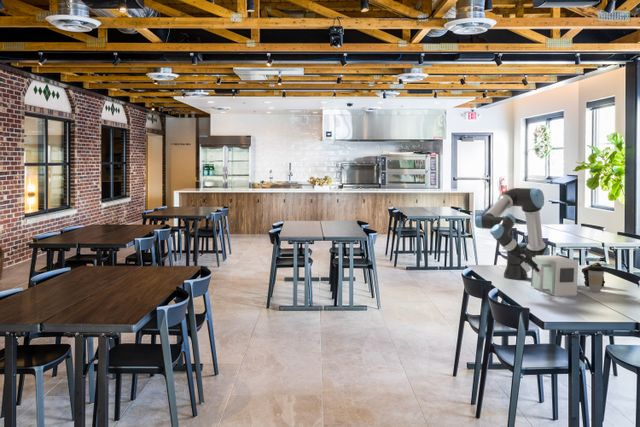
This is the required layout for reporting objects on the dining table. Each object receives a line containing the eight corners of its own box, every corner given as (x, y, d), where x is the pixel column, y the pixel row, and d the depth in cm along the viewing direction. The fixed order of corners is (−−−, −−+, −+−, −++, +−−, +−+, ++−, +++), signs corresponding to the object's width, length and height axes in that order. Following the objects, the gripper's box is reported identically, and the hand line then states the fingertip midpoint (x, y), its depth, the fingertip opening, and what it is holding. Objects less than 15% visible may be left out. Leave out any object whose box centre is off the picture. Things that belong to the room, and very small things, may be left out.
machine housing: (533, 287, 342) (535, 255, 340) (555, 287, 344) (556, 255, 342) (554, 296, 319) (556, 261, 318) (577, 295, 321) (579, 261, 320)
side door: (521, 286, 341) (523, 257, 340) (532, 285, 342) (534, 256, 341) (541, 294, 319) (543, 263, 317) (553, 294, 320) (555, 263, 318)
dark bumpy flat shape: (610, 284, 345) (600, 263, 345) (589, 293, 347) (580, 271, 346) (607, 283, 349) (597, 262, 348) (587, 291, 350) (577, 270, 350)
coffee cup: (596, 293, 327) (598, 268, 326) (582, 290, 335) (583, 266, 334) (607, 292, 331) (608, 267, 330) (593, 289, 339) (594, 264, 338)
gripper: (497, 248, 328) (519, 273, 332) (518, 255, 304) (542, 281, 307) (506, 239, 329) (528, 264, 332) (527, 245, 304) (551, 272, 307)
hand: (535, 272), depth 320 cm, fingers open, 13 cm apart
